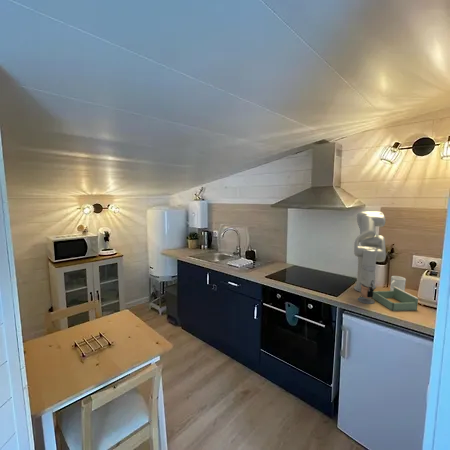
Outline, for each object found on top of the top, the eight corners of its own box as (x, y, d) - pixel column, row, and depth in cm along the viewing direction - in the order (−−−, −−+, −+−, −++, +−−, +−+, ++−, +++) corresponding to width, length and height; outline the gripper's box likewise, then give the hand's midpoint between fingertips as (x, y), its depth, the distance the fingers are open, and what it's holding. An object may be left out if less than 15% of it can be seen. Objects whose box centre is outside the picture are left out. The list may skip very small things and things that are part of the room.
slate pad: (354, 297, 177) (354, 297, 177) (368, 297, 177) (368, 296, 177) (363, 304, 167) (363, 303, 167) (378, 303, 167) (378, 302, 167)
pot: (357, 294, 175) (358, 284, 174) (368, 294, 175) (369, 283, 175) (364, 298, 168) (365, 288, 167) (375, 298, 168) (376, 287, 168)
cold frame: (372, 297, 177) (372, 286, 176) (394, 297, 178) (395, 286, 178) (392, 310, 158) (393, 298, 157) (417, 310, 159) (418, 298, 158)
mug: (384, 291, 189) (385, 277, 187) (395, 289, 193) (396, 275, 192) (396, 296, 181) (397, 281, 179) (407, 293, 186) (408, 278, 184)
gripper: (355, 264, 178) (353, 290, 180) (371, 272, 161) (369, 300, 163) (366, 264, 178) (364, 289, 180) (383, 271, 161) (380, 300, 163)
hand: (366, 294), depth 171 cm, fingers closed on pot, 6 cm apart
